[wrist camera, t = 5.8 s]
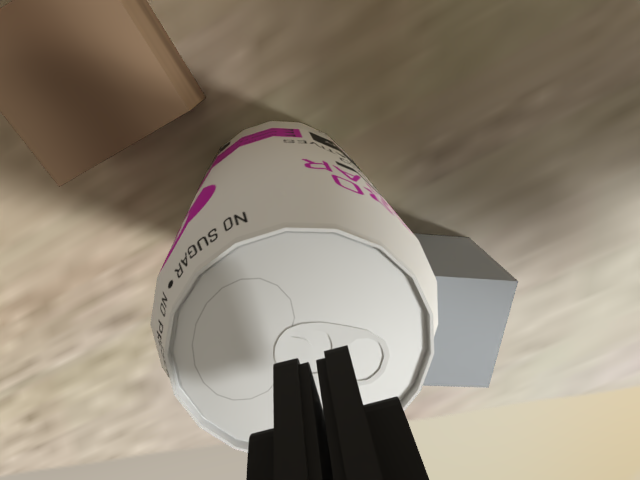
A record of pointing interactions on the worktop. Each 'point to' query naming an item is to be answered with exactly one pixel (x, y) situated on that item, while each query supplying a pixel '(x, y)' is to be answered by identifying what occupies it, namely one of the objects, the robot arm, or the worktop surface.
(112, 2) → the walnut block
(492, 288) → the slate grey block
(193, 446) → the worktop surface
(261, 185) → the supplement can
